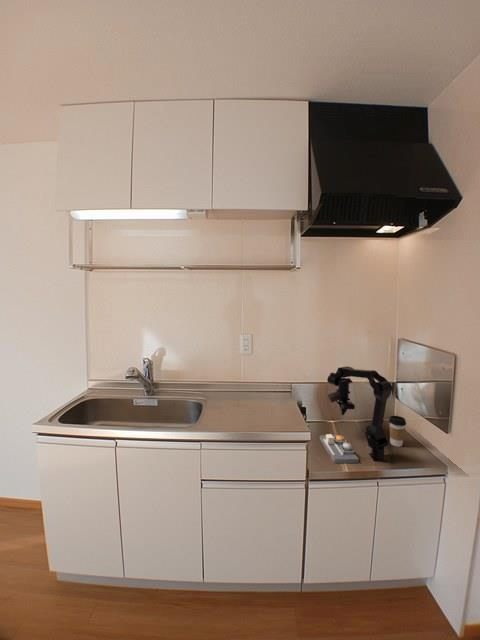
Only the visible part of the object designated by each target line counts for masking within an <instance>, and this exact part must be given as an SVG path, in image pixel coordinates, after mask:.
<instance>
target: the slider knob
mask: <svg viewBox="0 0 480 640" xmlns="http://www.w3.org/2000/svg"><path fill="white" fill-rule="evenodd" d="M325 435H326V442H327V443H328V444H334V437H333V436H332V433H328V434H325Z"/></svg>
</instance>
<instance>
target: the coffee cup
mask: <svg viewBox="0 0 480 640" xmlns="http://www.w3.org/2000/svg"><path fill="white" fill-rule="evenodd" d="M388 423H389V443H390V445H391V446H394V447H398V448H399V447H403V443H404V437H405V431H406V425H407V421H406V418H404V417H402V416H400V415H391V416H390V417H389V419H388Z"/></svg>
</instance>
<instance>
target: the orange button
mask: <svg viewBox="0 0 480 640" xmlns="http://www.w3.org/2000/svg"><path fill="white" fill-rule="evenodd" d="M336 435H337V436H336V440H337V441H344V438H345V437H344V436H343V435H341V434H336ZM340 435H341V436H340Z"/></svg>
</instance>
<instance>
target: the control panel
mask: <svg viewBox="0 0 480 640" xmlns="http://www.w3.org/2000/svg"><path fill="white" fill-rule="evenodd" d="M337 435H338V434H333V435H332V436H333V437H334V444H328V443H327V442H326V434H325V435H324V434H323V435H319V440H320V442H321V444H322V445H323V447H324V448H325V450H326V452H327V453H328V455H329V457H330V458H331V460H332V462H333V463H334V464H354V463H355V464H357V463H358V464H359V463H360V462H359V457H358V456H357V455H356V451H355V450H354V448H353V446H351V450H345V449H343V443H345V442H347V443H348V441H347V440H346V438H345V437H344V441H337V440H336V436H337ZM339 435H340V436H342V435H341V434H339Z"/></svg>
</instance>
